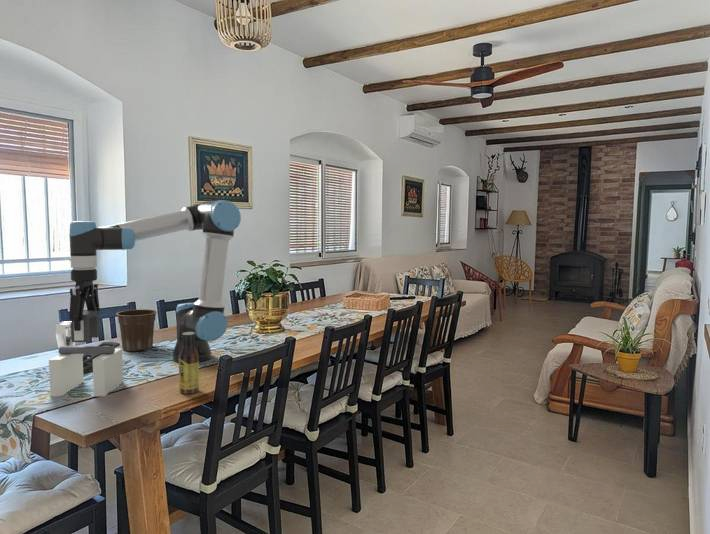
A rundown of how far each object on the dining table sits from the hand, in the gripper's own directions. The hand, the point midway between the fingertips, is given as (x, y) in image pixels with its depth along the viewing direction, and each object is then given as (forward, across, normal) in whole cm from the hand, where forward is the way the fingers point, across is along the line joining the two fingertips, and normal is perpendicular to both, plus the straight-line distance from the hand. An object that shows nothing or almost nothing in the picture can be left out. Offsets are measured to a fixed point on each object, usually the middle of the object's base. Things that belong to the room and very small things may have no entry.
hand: (85, 337), depth 163 cm
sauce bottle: (+18, +3, +34) cm, 39 cm away
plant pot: (+18, -53, -4) cm, 56 cm away
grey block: (+1, 0, 0) cm, 1 cm away
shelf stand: (+18, 0, 0) cm, 18 cm away
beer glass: (+18, -35, -25) cm, 47 cm away
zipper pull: (+18, -26, -11) cm, 34 cm away
